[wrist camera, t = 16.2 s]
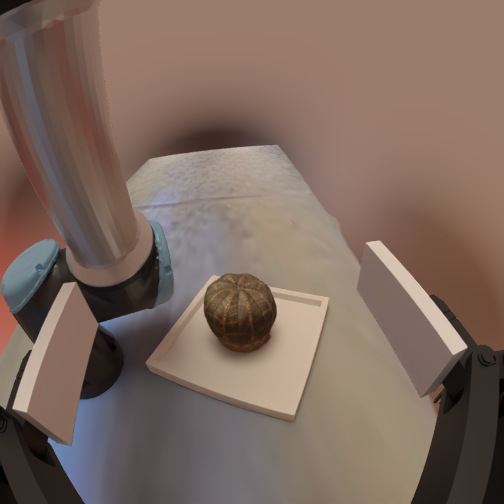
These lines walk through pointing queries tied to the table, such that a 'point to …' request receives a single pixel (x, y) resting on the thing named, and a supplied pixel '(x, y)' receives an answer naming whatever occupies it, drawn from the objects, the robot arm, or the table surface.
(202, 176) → the table surface
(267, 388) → the tray
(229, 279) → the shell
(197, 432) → the table surface
